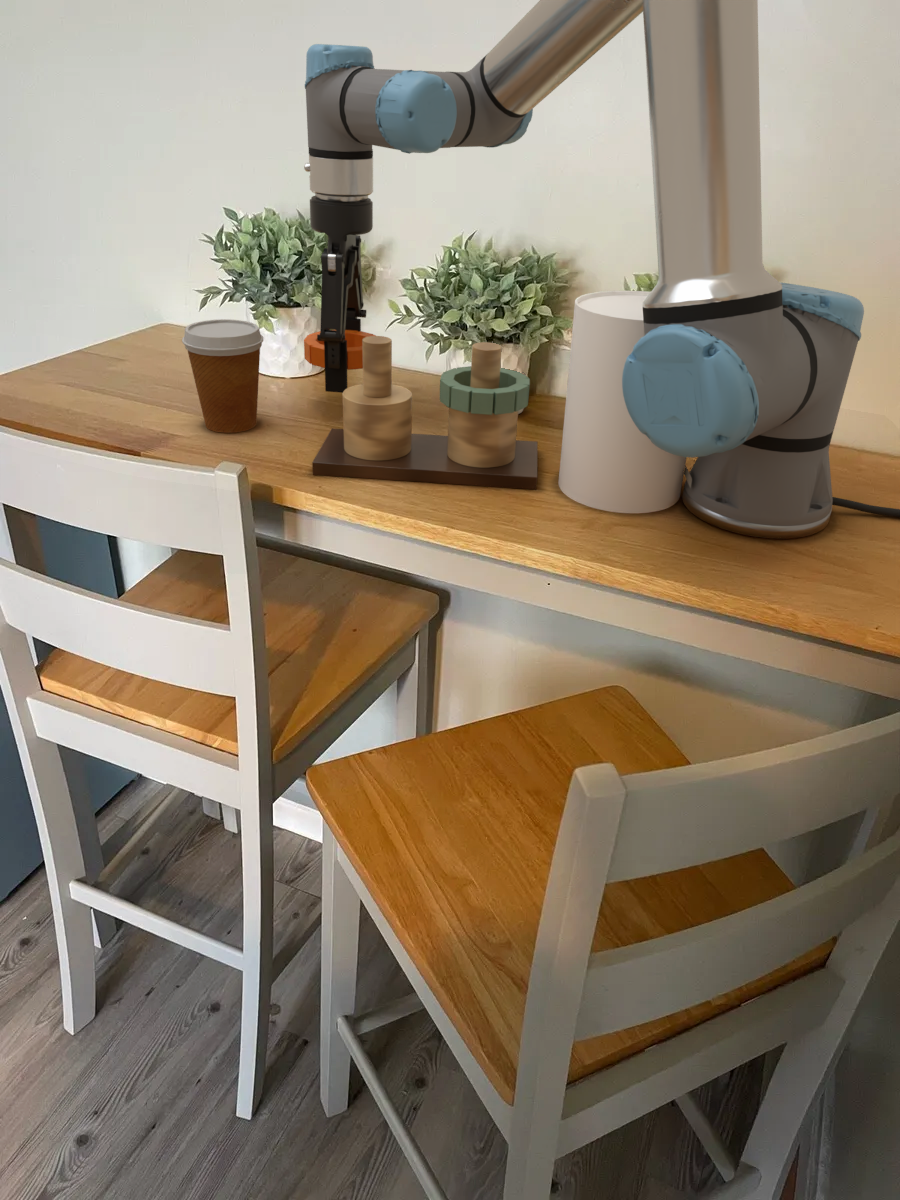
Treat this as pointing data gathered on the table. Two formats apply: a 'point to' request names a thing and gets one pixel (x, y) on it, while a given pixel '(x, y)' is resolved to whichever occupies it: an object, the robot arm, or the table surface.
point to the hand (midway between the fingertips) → (343, 378)
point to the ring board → (392, 452)
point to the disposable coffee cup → (225, 371)
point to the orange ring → (354, 349)
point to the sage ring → (484, 392)
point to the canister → (610, 415)
